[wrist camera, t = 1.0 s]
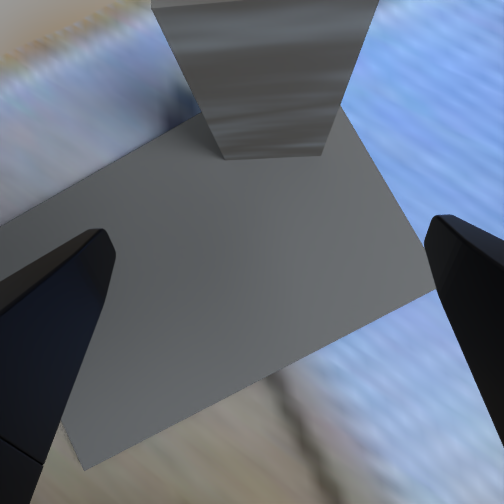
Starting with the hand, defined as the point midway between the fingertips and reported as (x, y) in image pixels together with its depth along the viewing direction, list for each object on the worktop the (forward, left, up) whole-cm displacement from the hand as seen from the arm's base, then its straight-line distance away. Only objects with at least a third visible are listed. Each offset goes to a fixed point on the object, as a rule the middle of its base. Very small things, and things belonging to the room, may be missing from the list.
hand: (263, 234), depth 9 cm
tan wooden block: (+7, -4, -13) cm, 15 cm away
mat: (+2, +5, -13) cm, 14 cm away
